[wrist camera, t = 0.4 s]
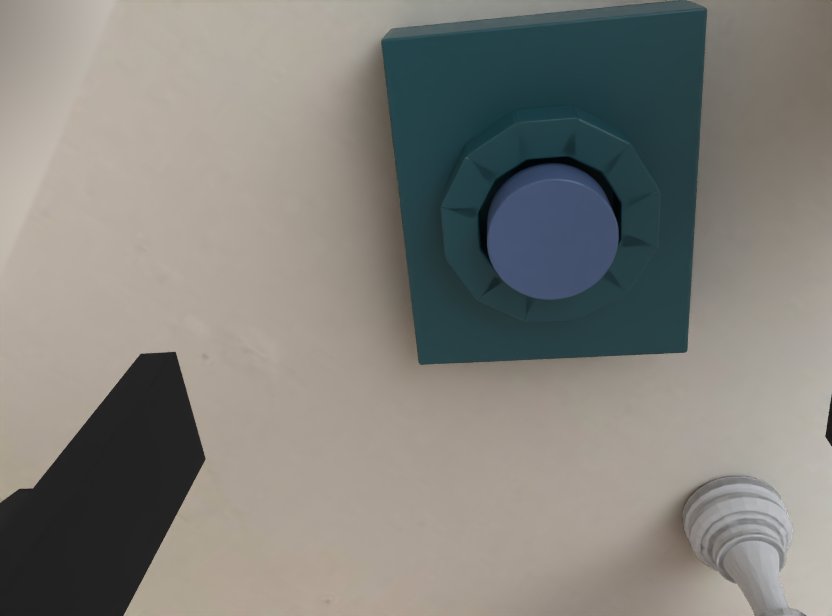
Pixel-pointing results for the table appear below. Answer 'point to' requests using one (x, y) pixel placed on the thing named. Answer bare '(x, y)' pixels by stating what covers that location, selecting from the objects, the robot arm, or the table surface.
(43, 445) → the table surface
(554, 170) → the blue push button
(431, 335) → the push button block
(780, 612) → the chess piece
